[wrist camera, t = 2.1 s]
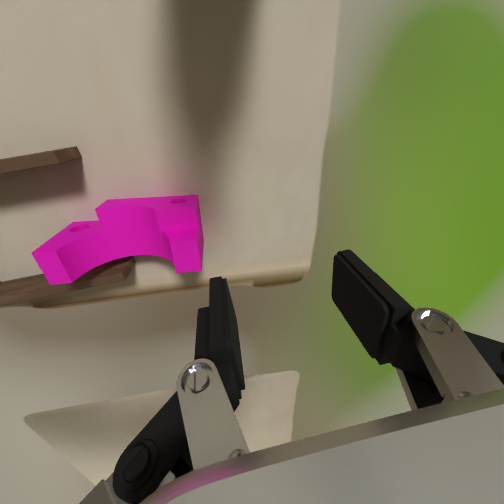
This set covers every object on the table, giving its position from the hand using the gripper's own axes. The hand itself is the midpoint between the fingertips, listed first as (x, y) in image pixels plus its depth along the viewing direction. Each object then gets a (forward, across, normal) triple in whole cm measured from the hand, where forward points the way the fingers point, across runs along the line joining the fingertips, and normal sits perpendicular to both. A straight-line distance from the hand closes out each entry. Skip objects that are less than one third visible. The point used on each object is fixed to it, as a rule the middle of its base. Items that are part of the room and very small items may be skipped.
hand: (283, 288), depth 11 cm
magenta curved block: (+20, +13, +2) cm, 24 cm away
